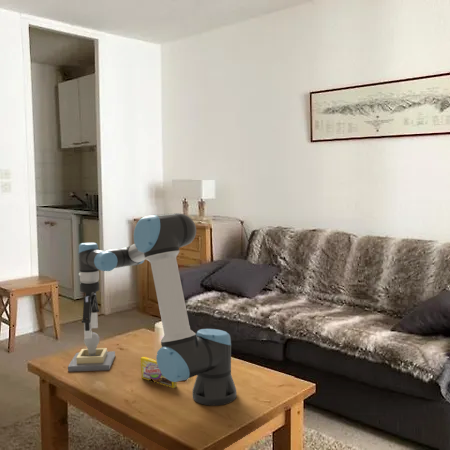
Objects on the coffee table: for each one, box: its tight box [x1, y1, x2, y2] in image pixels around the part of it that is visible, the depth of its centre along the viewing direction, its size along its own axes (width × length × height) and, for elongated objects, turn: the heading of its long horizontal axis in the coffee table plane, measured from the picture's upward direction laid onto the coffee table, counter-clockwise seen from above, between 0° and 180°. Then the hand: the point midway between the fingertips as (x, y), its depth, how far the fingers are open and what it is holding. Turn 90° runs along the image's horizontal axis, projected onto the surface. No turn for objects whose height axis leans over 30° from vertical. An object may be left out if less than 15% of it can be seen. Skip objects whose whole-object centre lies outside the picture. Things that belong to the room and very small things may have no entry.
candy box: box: [140, 356, 178, 389], centre depth 193 cm, size 16×2×8 cm, turn 54°
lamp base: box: [67, 347, 116, 372], centre depth 213 cm, size 16×16×4 cm
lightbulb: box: [83, 331, 100, 356], centre depth 212 cm, size 6×6×11 cm
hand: (91, 333), depth 212 cm, fingers open, 13 cm apart
